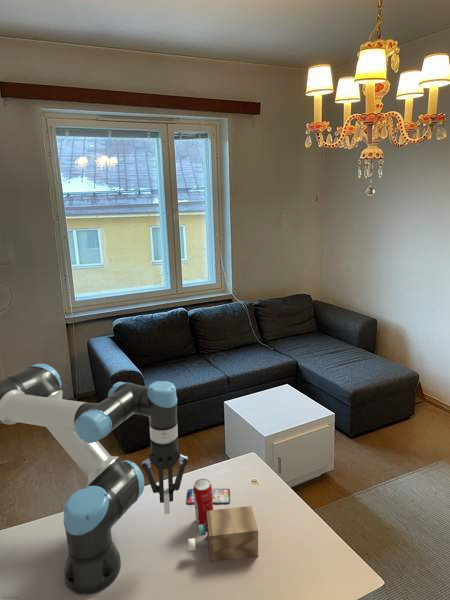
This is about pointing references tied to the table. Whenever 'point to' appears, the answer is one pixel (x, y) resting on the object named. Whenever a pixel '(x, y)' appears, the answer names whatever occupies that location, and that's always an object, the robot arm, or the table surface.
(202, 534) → the teal knob
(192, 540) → the cream knob
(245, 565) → the table surface
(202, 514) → the beverage can
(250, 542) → the console
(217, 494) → the smartphone
